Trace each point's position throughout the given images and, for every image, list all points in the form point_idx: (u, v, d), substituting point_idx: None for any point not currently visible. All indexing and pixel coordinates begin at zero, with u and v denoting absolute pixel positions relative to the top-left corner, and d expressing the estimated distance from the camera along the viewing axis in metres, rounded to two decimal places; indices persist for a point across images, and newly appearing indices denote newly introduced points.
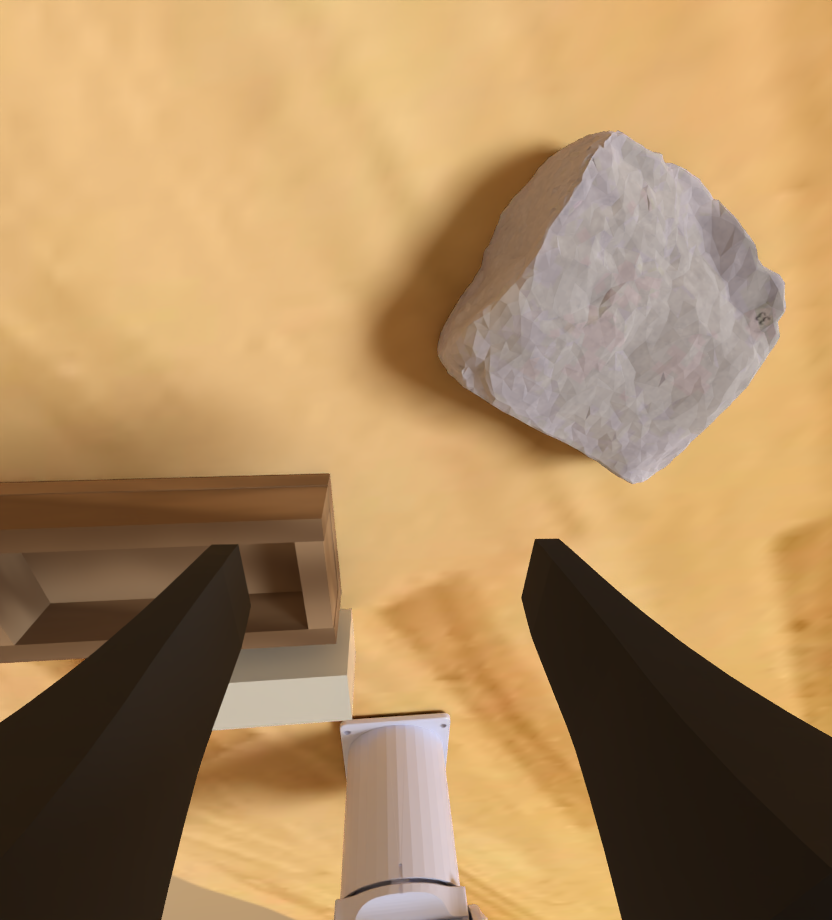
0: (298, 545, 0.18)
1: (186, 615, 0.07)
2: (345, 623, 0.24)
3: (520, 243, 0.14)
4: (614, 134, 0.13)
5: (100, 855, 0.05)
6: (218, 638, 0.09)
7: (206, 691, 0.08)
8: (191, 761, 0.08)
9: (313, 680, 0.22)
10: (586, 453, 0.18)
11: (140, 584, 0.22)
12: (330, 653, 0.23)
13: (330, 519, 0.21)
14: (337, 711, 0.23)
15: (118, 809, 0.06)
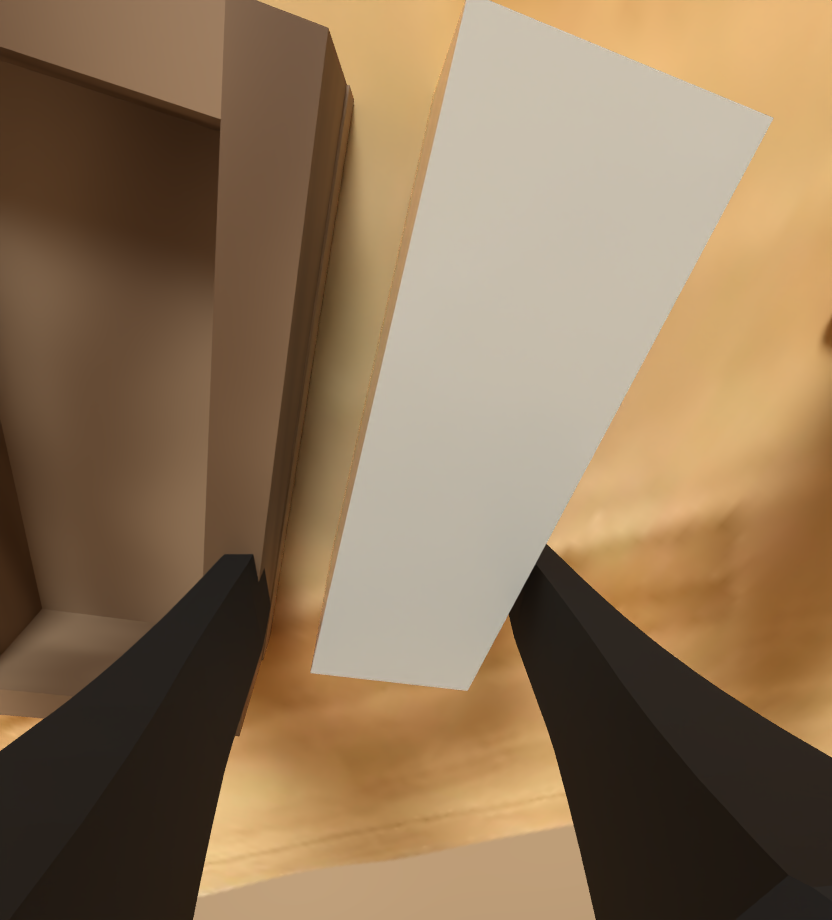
0: None
1: (215, 614, 0.07)
2: (434, 99, 0.07)
3: None
4: None
5: (142, 852, 0.05)
6: (243, 637, 0.09)
7: (232, 690, 0.08)
8: (219, 760, 0.08)
9: (443, 183, 0.05)
10: None
11: (198, 514, 0.12)
12: (432, 125, 0.06)
13: None
14: (678, 163, 0.05)
15: (157, 807, 0.06)
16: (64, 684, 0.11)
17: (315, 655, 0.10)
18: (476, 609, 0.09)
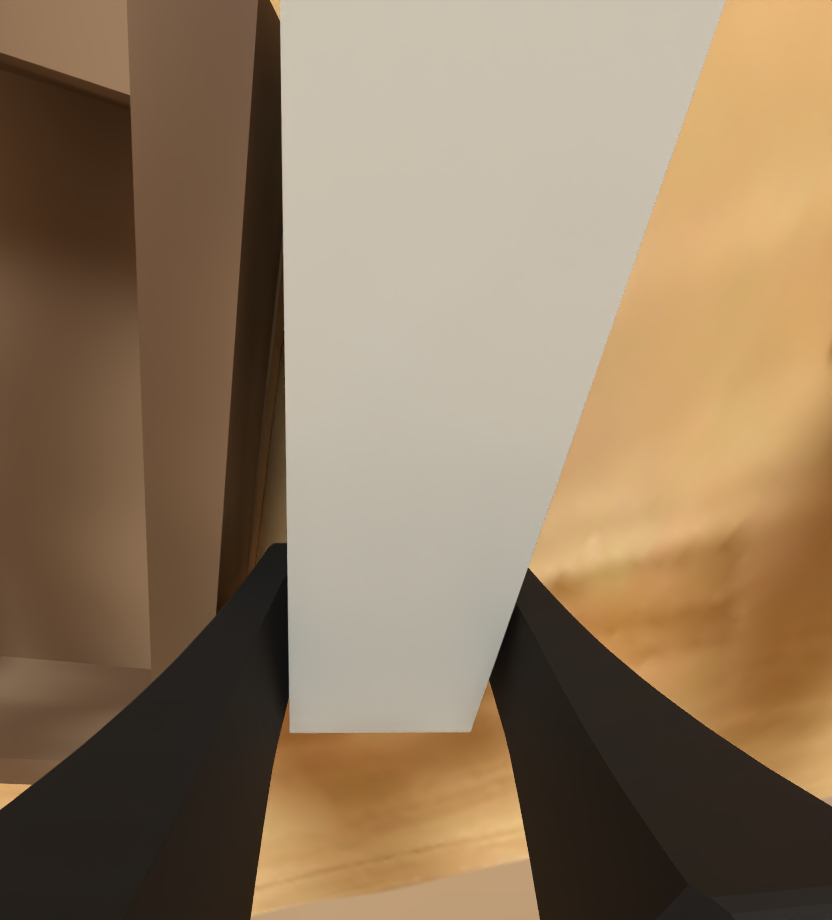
0: None
1: (267, 613, 0.07)
2: None
3: None
4: None
5: (216, 846, 0.05)
6: (287, 636, 0.09)
7: (278, 688, 0.08)
8: (269, 757, 0.08)
9: (306, 152, 0.04)
10: None
11: None
12: None
13: None
14: (606, 82, 0.04)
15: (227, 802, 0.06)
16: (0, 744, 0.10)
17: (290, 715, 0.09)
18: (461, 647, 0.08)
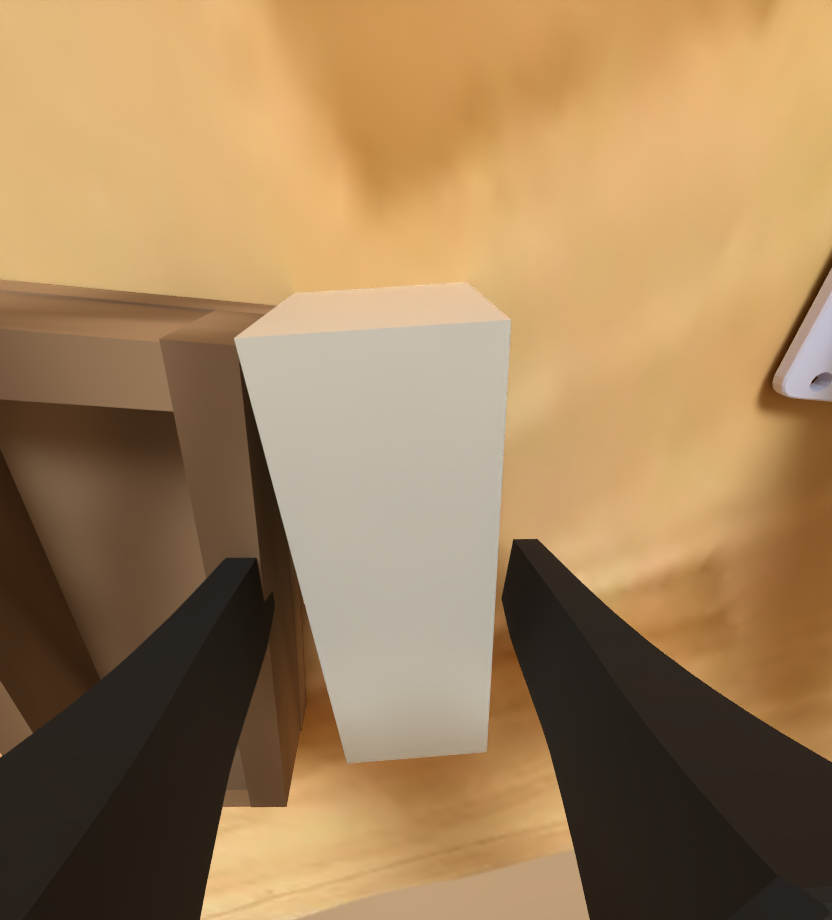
0: None
1: (221, 614, 0.07)
2: None
3: None
4: None
5: (151, 851, 0.05)
6: (248, 637, 0.09)
7: (237, 690, 0.08)
8: (225, 760, 0.08)
9: (276, 442, 0.07)
10: None
11: None
12: None
13: None
14: (449, 372, 0.06)
15: (165, 806, 0.06)
16: None
17: (344, 751, 0.12)
18: (460, 694, 0.11)
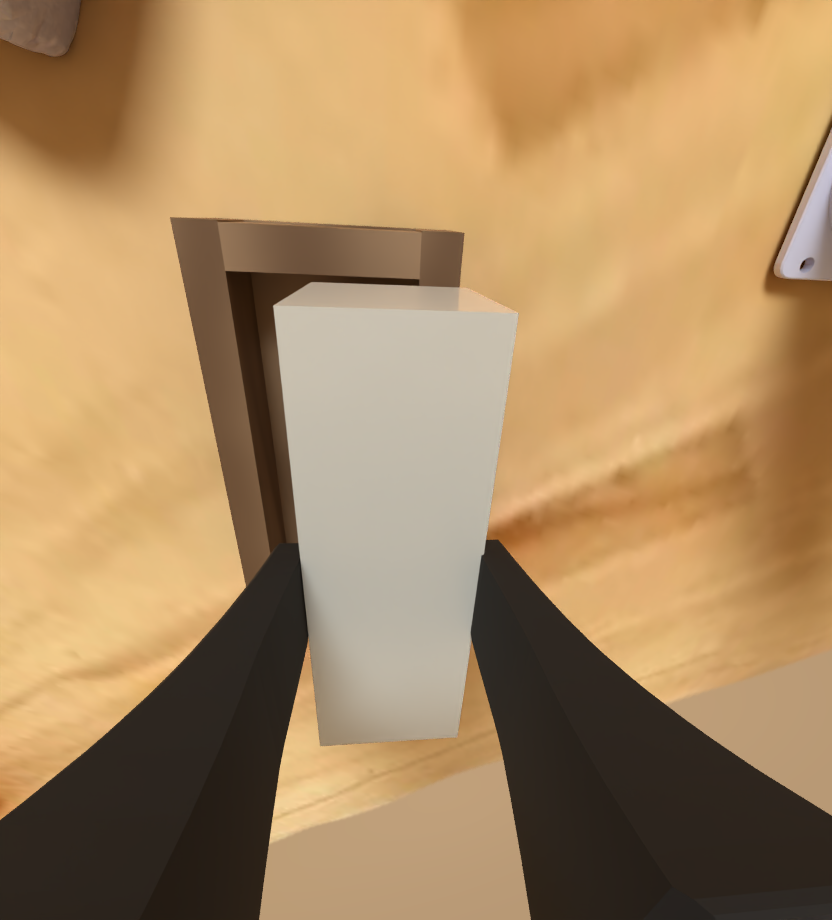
0: (231, 265, 0.12)
1: (275, 612, 0.07)
2: None
3: None
4: None
5: (228, 845, 0.05)
6: (293, 635, 0.09)
7: (285, 687, 0.08)
8: (276, 757, 0.08)
9: (298, 408, 0.07)
10: None
11: None
12: None
13: (266, 222, 0.14)
14: (461, 355, 0.07)
15: (237, 801, 0.06)
16: None
17: (319, 732, 0.12)
18: (438, 673, 0.11)
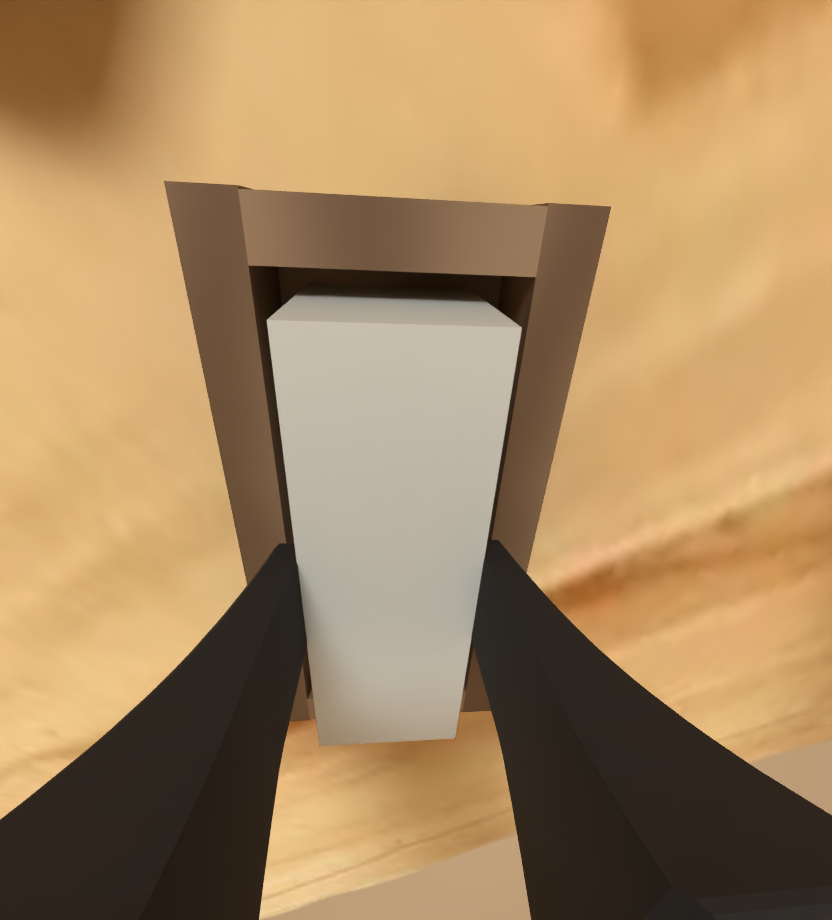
0: (257, 256, 0.08)
1: (275, 612, 0.07)
2: None
3: None
4: None
5: (227, 845, 0.05)
6: (293, 635, 0.09)
7: (285, 687, 0.08)
8: (276, 757, 0.08)
9: (293, 423, 0.07)
10: None
11: None
12: None
13: None
14: (461, 370, 0.07)
15: (237, 801, 0.06)
16: None
17: (318, 733, 0.12)
18: (436, 679, 0.11)
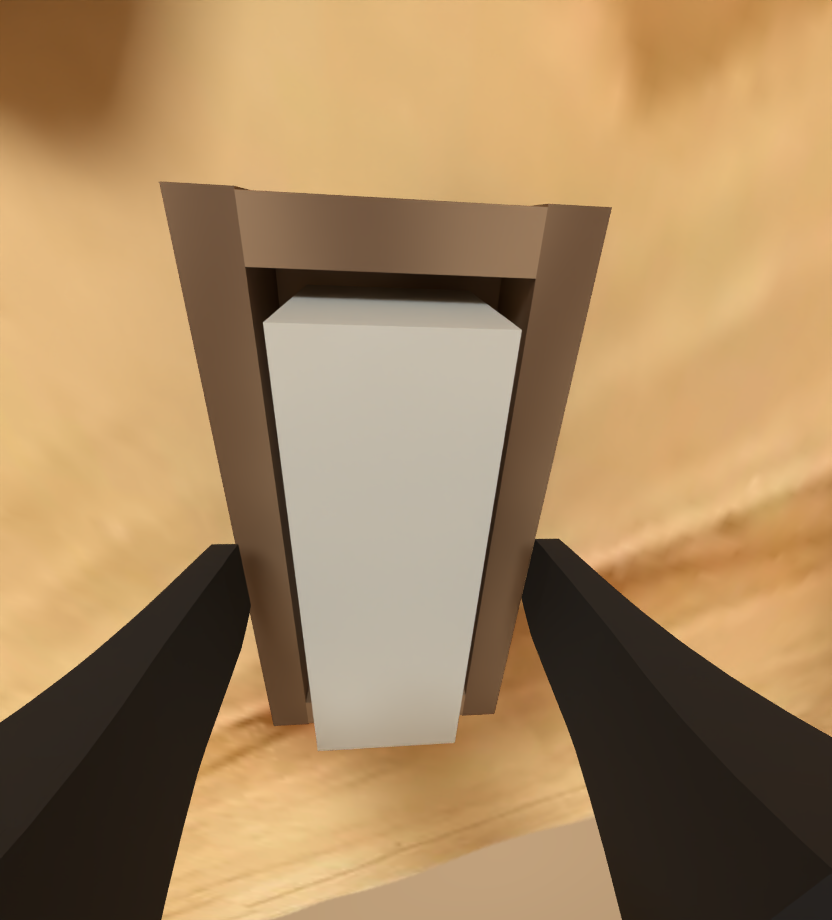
0: (254, 258, 0.08)
1: (186, 615, 0.07)
2: None
3: None
4: None
5: (100, 855, 0.05)
6: (218, 638, 0.09)
7: (206, 691, 0.08)
8: (192, 761, 0.08)
9: (290, 426, 0.07)
10: None
11: None
12: None
13: None
14: (461, 373, 0.07)
15: (118, 809, 0.06)
16: None
17: (317, 738, 0.12)
18: (435, 683, 0.11)
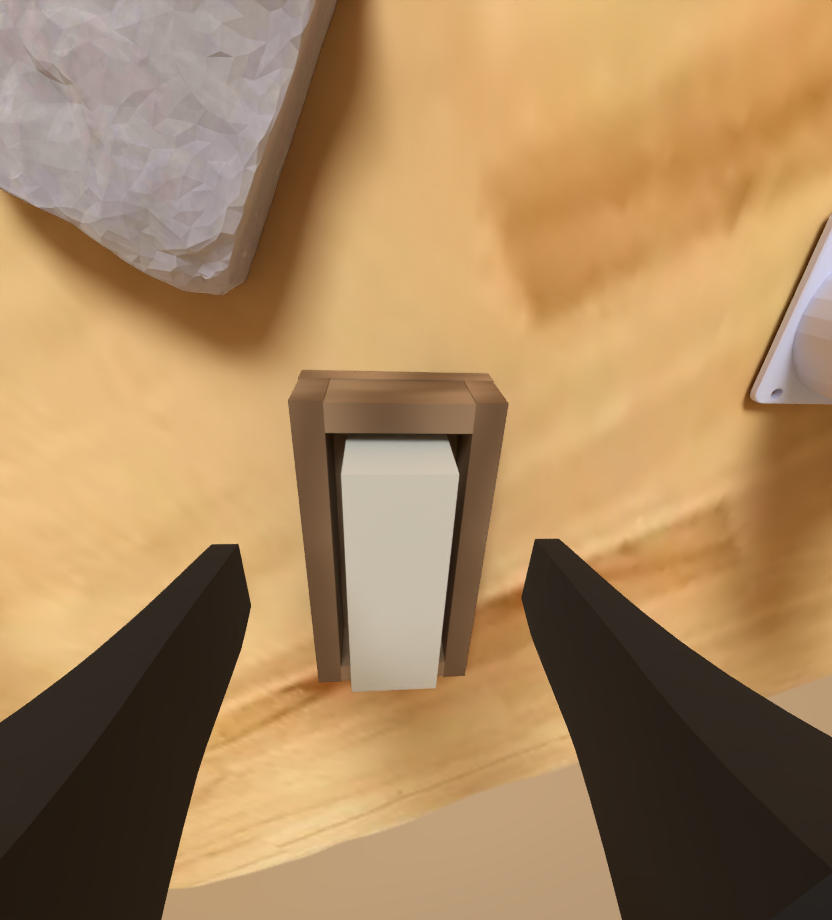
0: (329, 429, 0.15)
1: (186, 615, 0.07)
2: None
3: None
4: None
5: (100, 855, 0.05)
6: (218, 638, 0.09)
7: (206, 691, 0.08)
8: (192, 762, 0.08)
9: (349, 515, 0.15)
10: (301, 29, 0.11)
11: None
12: None
13: (348, 379, 0.17)
14: (431, 492, 0.15)
15: (118, 809, 0.06)
16: None
17: (351, 683, 0.20)
18: (423, 649, 0.19)
